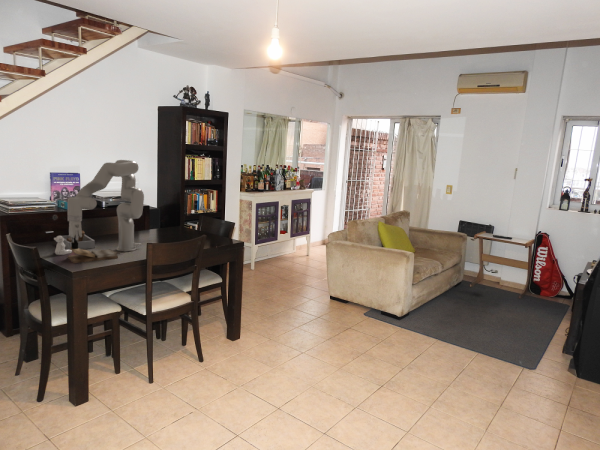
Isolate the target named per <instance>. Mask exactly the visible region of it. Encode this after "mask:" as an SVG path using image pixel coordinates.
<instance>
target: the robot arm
mask: <svg viewBox="0 0 600 450" xmlns="http://www.w3.org/2000/svg"><path fill="white" fill-rule="evenodd" d="M138 171H139V164H138V162H136V161H134V160H130V159H129V160H127V159H118V160H116V161H115V162H104V163H103V164H102V166H101V167H100V169H99V170H98V171H97V173H96V174H95V176H94V178H93V179H92V180H91V181H89V182H88V183H86V184H85V185H83V187H82V188H80V189H79V190H78V192H77V194H76V195H75V196H74V197H68V198H67V222H68V236H69V235H70V236H71V239H72V249H78V237H80V238H81V237H82V231H83V230H82V221H83V210H93V209H95V208H96V207H97V204H98V202H97V200H96V198H93V197H91V195H93V194H94V193H97V192H99V191H102V190H104V189H106V188H107V187H108V184H109V183H110V181H112V178H113V177H117V178H118V177H119V178H121V188H120V198H121V199H122V200H123V201H126V202H122V203H120V204H119V205H118V206H116V216H117V219H118V222H117V223H118V246H117V247H116V249H115V250H116V251H118V252H134V251H136V250H137V247H141V246H142V243H141V242H135V224H134V223H135V222H134V220H136V219H140V218H141V217H142V216H143V209H144V203H145V194H144V191H143V190H142V189H141V188H139V187H136V182H137V181H136V176H135V174H136V173H137V172H138ZM128 202H129V203H128Z"/></svg>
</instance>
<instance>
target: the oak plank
mask: <svg viewBox="0 0 600 450" xmlns="http://www.w3.org/2000/svg"><path fill="white" fill-rule="evenodd" d="M70 250H72V253H74V254H75V255H79V254H81V255H85V256H89V257H94V258H95V254H93V253H92V252H91V250H88V249H87V250H86V249H79V248H78V249H72V247H71V248H70Z"/></svg>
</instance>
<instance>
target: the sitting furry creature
mask: <svg viewBox="0 0 600 450" xmlns="http://www.w3.org/2000/svg"><path fill="white" fill-rule="evenodd" d="M62 236H63V235H57V236H56V237H53V240H54V241H55V242H56V247H55V250H54V253H55V255H57V256H64V255H68V254H69V255H70V254H72V253H73V251H72V250H69V249H66V248H65V246H66V245H65V244H64V243H63V241H64V239H63V237H62Z"/></svg>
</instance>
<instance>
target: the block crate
mask: <svg viewBox="0 0 600 450" xmlns="http://www.w3.org/2000/svg"><path fill="white" fill-rule="evenodd" d="M61 236H62V237H63V239H64V241H63V243H64V244H65V245H66V246H65V250H68V249H69V250H70V248H71V247H72V242H69V241H67V238H71V236H70V235H69V234H68V235H61ZM78 248H79V249H83V250H86V249H87V250H88V249H94V248H96V242H95V239H93V238H91V237H89V236H88V235H86V234H84V237H83V240H82V241H81V242H78Z"/></svg>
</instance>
